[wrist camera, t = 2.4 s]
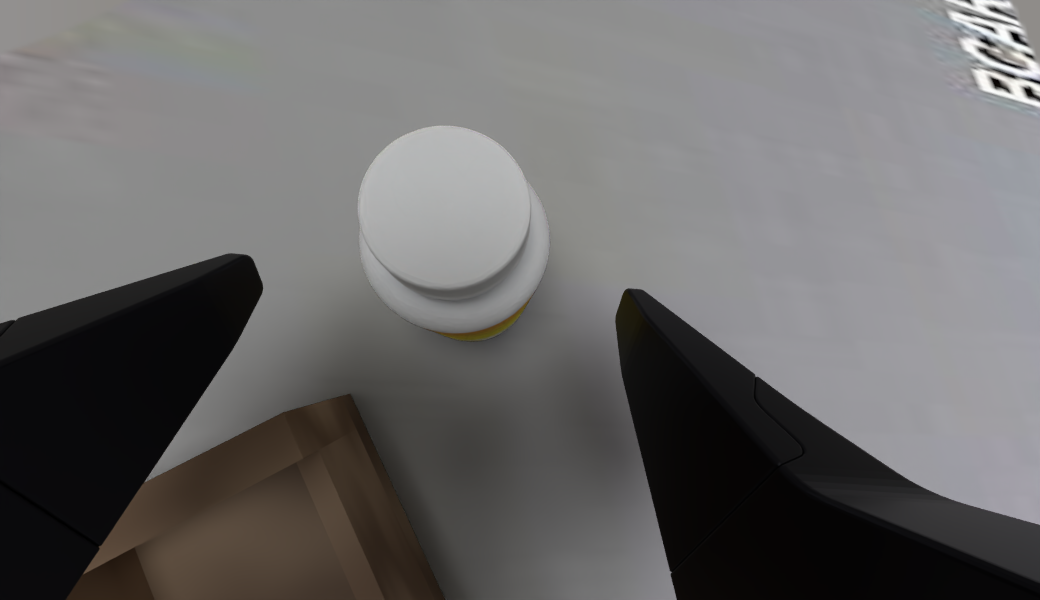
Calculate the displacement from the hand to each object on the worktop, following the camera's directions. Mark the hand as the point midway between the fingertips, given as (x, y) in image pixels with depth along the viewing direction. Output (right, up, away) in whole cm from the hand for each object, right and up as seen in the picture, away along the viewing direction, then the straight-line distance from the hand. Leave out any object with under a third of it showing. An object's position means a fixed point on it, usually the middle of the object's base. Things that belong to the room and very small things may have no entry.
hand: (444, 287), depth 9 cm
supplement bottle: (-1, 0, +10) cm, 10 cm away
